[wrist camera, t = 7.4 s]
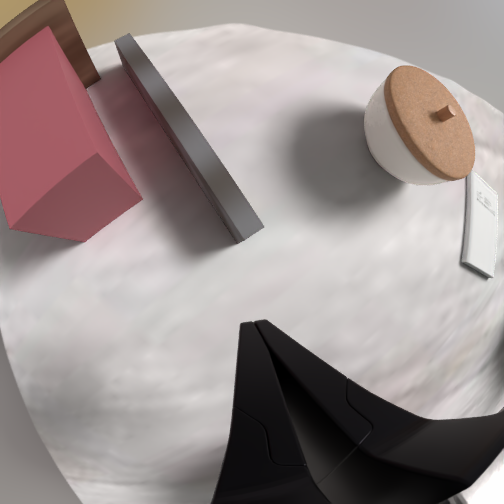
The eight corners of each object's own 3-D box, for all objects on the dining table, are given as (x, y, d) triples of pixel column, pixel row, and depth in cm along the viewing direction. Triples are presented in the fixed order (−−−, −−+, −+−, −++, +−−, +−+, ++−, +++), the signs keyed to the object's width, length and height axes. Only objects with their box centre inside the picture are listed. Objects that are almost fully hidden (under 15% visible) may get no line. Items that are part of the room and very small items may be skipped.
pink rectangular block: (143, 199, 20) (97, 152, 10) (85, 242, 19) (9, 229, 9) (86, 89, 19) (48, 25, 9) (38, 125, 18) (-14, 76, 8)
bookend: (253, 233, 21) (312, 199, 9) (117, 324, 19) (38, 384, 7) (129, 49, 20) (108, -37, 8) (26, 120, 18) (-36, 63, 6)
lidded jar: (354, 193, 23) (425, 161, 13) (337, 93, 23) (384, 38, 14) (432, 200, 24) (498, 182, 15) (414, 113, 25) (465, 79, 16)
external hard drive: (457, 262, 26) (463, 171, 27) (485, 277, 27) (491, 196, 28) (467, 262, 24) (472, 168, 25) (494, 278, 25) (499, 194, 26)
